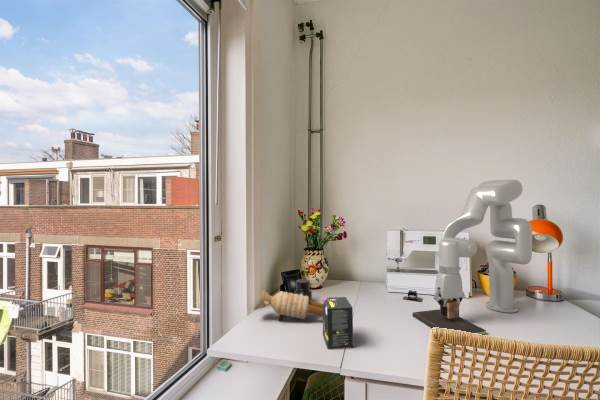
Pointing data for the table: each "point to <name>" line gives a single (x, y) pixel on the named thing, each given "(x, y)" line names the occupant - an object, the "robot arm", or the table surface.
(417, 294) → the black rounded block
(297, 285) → the ink bottle
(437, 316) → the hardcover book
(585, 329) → the table surface
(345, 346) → the tampon box
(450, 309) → the walnut block
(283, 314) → the tan long ribbed piece
